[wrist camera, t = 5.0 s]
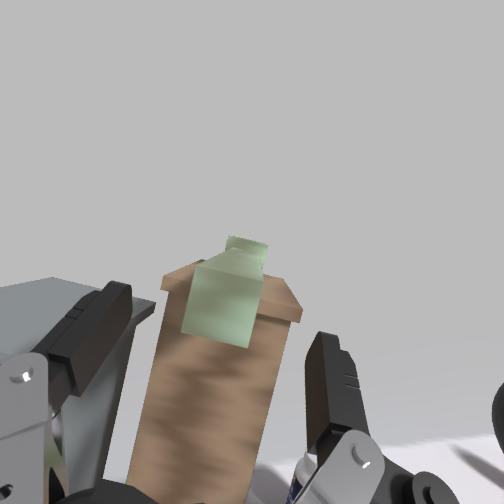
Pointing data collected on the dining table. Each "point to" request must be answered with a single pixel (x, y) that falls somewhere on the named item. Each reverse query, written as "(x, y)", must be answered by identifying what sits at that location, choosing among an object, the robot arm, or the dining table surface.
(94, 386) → the grey stand
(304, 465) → the pill bottle
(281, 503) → the dining table surface
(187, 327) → the peg
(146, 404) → the walnut stand
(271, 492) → the dining table surface
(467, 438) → the dining table surface
